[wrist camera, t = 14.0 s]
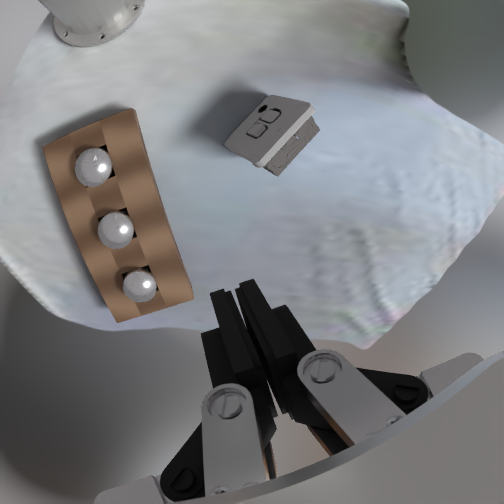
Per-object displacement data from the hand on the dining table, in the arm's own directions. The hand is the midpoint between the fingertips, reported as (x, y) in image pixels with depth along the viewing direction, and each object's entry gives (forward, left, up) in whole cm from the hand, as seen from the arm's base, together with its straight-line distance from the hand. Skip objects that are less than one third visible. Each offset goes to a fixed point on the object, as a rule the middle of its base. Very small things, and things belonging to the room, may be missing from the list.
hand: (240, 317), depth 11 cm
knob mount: (+2, -10, -29) cm, 31 cm away
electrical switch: (-4, +11, -29) cm, 32 cm away
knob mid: (+2, -10, -29) cm, 30 cm away
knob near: (-6, -10, -29) cm, 31 cm away
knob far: (+10, -10, -29) cm, 32 cm away
